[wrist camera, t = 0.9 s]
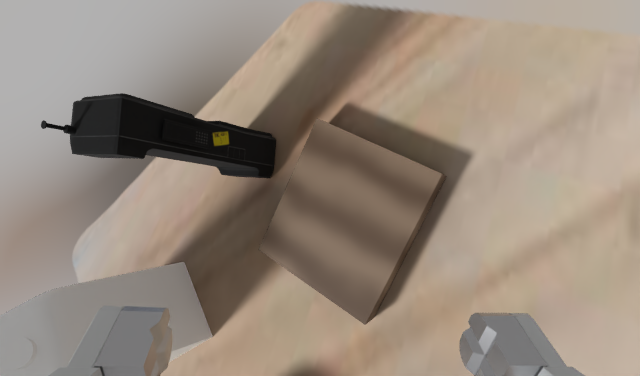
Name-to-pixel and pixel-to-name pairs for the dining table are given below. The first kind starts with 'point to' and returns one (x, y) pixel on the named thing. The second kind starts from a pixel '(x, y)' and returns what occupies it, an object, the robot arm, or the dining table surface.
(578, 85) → the dining table surface
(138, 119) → the portable radio
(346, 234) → the walnut plinth
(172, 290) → the milk
